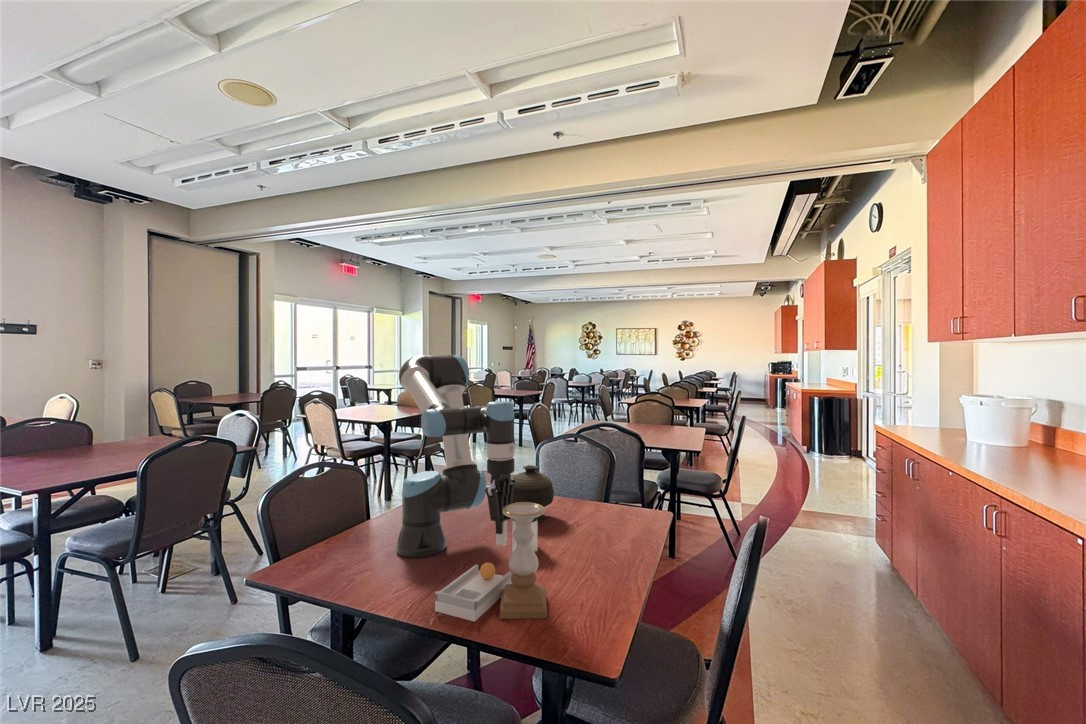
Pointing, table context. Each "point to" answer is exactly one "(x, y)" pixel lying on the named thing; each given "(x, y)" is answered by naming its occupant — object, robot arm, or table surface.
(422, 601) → the table surface
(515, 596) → the candle holder
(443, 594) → the tray
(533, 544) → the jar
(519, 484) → the pot
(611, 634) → the table surface
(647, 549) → the table surface
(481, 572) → the ball
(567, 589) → the table surface
